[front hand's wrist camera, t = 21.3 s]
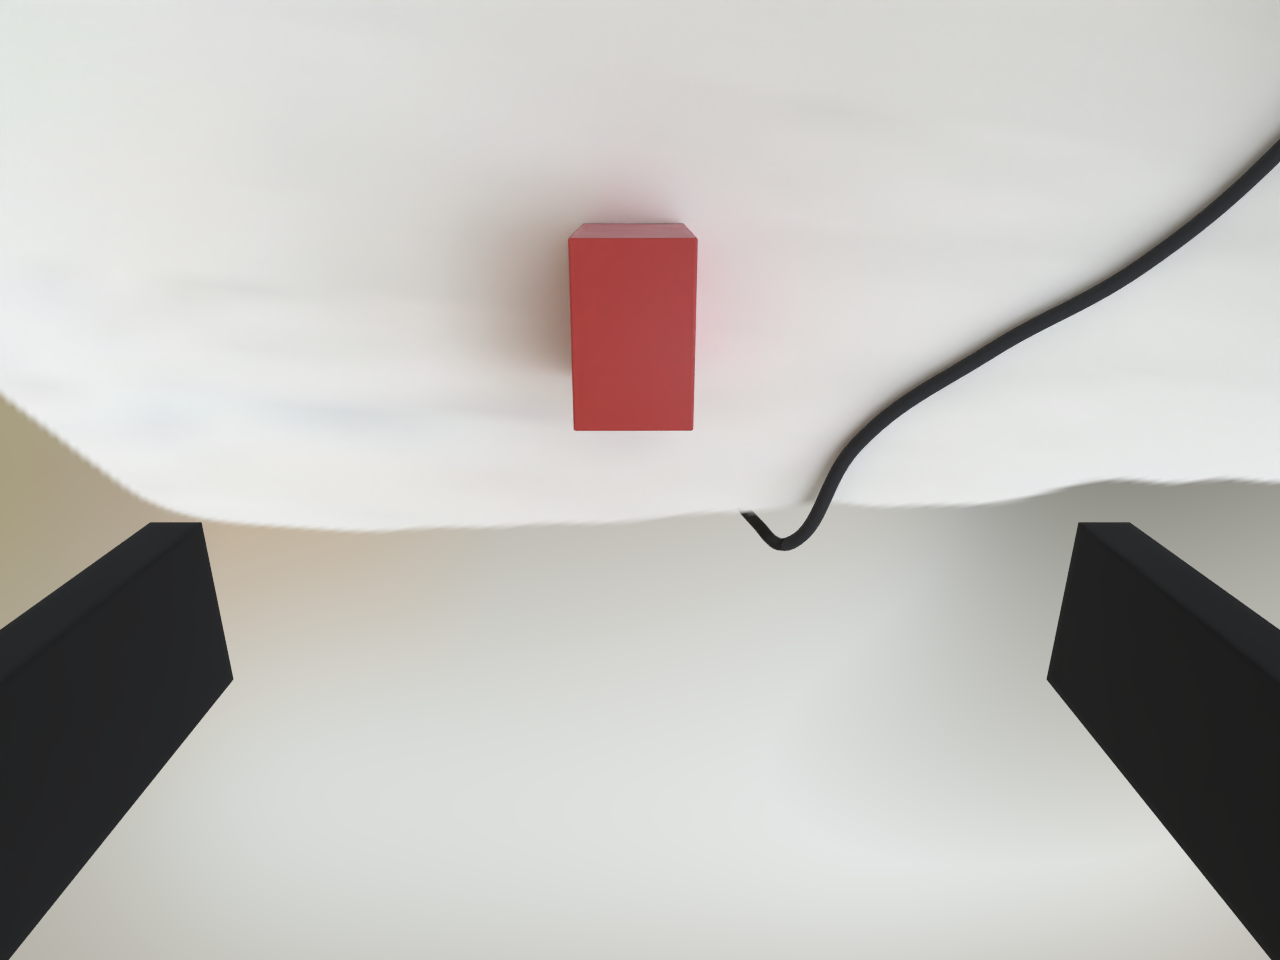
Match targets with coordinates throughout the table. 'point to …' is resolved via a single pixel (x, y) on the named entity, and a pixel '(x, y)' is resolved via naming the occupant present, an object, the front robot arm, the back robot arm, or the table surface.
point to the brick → (633, 326)
